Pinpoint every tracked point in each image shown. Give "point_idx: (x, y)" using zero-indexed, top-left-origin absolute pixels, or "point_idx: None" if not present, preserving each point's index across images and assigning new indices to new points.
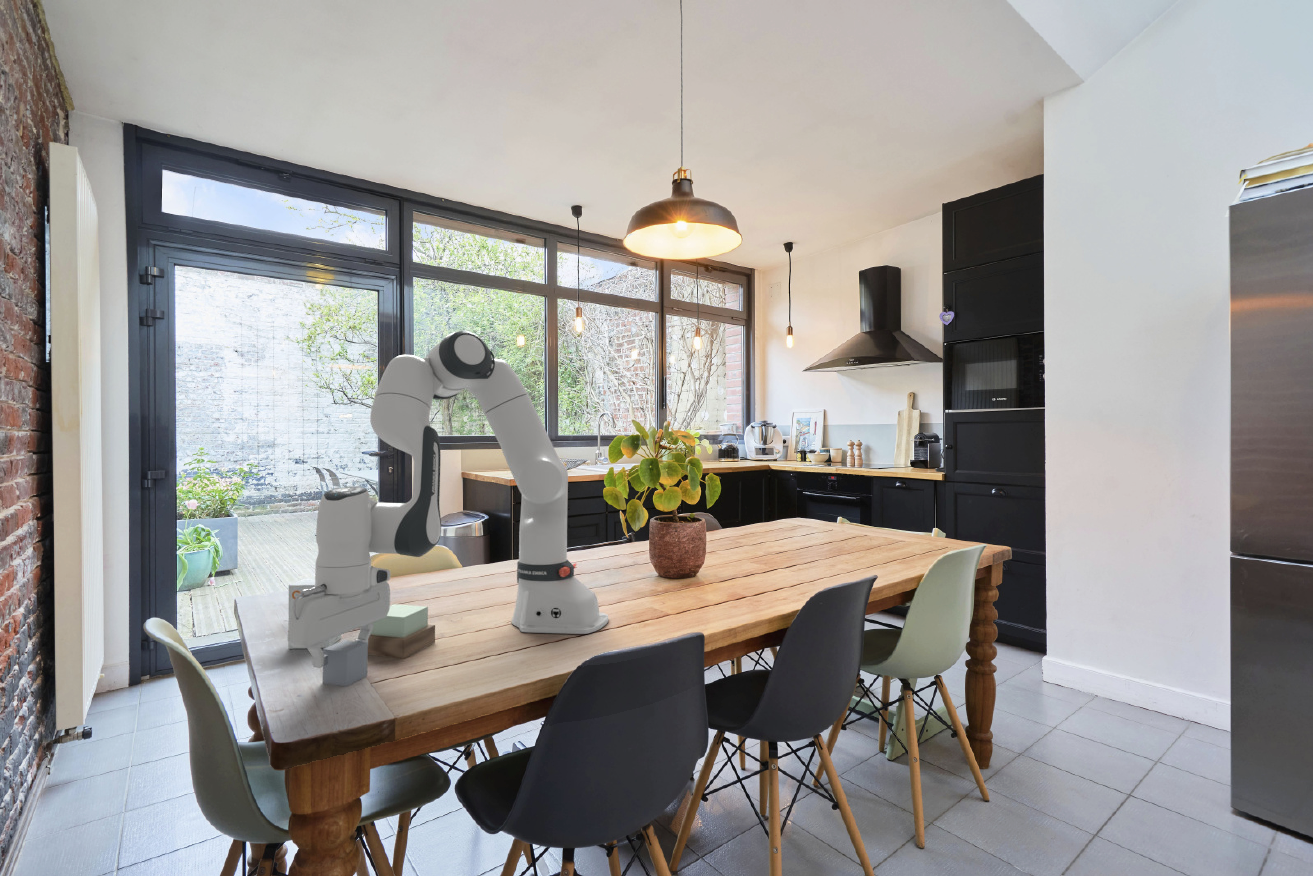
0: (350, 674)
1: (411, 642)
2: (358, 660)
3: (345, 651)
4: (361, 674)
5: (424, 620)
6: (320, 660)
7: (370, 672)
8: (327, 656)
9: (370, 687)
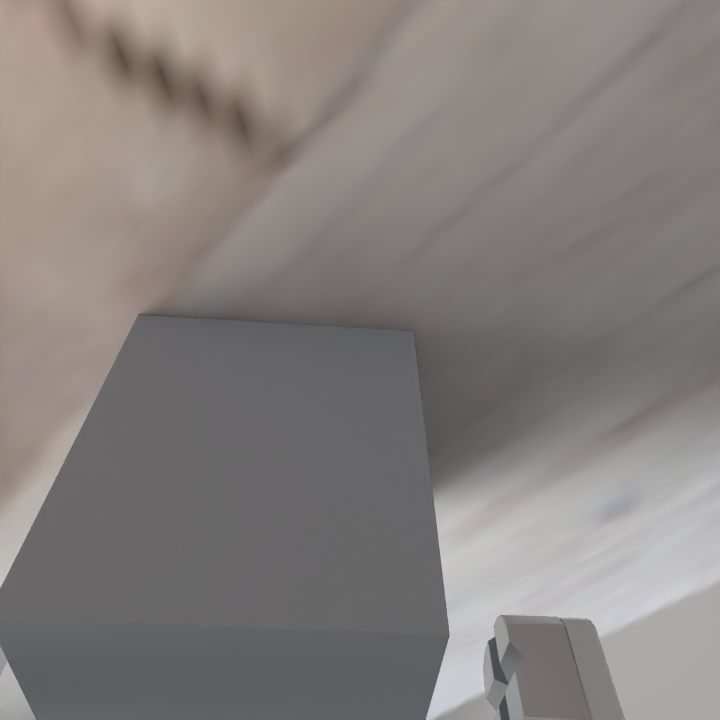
0: (362, 388)
1: None
2: (229, 462)
3: (435, 652)
4: (211, 343)
5: None
6: (612, 694)
7: (60, 336)
8: (532, 702)
9: (393, 85)
